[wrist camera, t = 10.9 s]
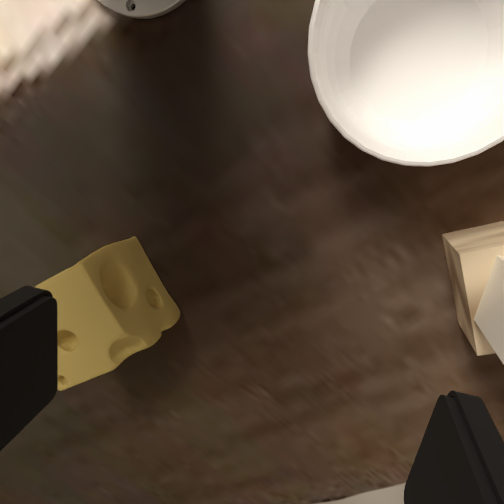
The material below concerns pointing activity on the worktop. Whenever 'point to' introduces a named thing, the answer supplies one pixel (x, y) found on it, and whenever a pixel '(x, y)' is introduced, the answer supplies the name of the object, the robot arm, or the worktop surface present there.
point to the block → (472, 274)
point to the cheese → (107, 310)
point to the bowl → (411, 76)
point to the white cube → (493, 309)
